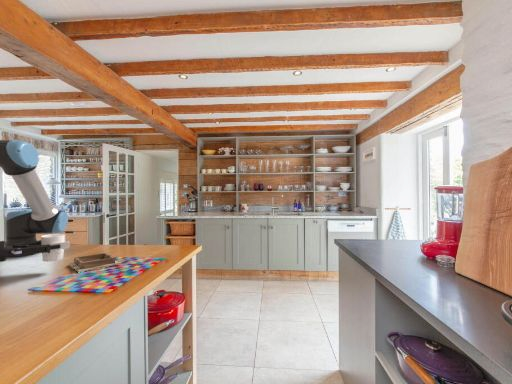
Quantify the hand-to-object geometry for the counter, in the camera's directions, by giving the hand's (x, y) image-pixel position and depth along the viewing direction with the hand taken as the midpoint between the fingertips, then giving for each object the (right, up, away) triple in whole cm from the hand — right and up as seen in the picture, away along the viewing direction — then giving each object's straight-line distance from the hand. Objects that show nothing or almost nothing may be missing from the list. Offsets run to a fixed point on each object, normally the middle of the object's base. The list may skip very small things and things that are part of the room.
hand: (67, 243), depth 110 cm
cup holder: (+7, -12, +8) cm, 16 cm away
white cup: (-3, -6, -3) cm, 8 cm away
